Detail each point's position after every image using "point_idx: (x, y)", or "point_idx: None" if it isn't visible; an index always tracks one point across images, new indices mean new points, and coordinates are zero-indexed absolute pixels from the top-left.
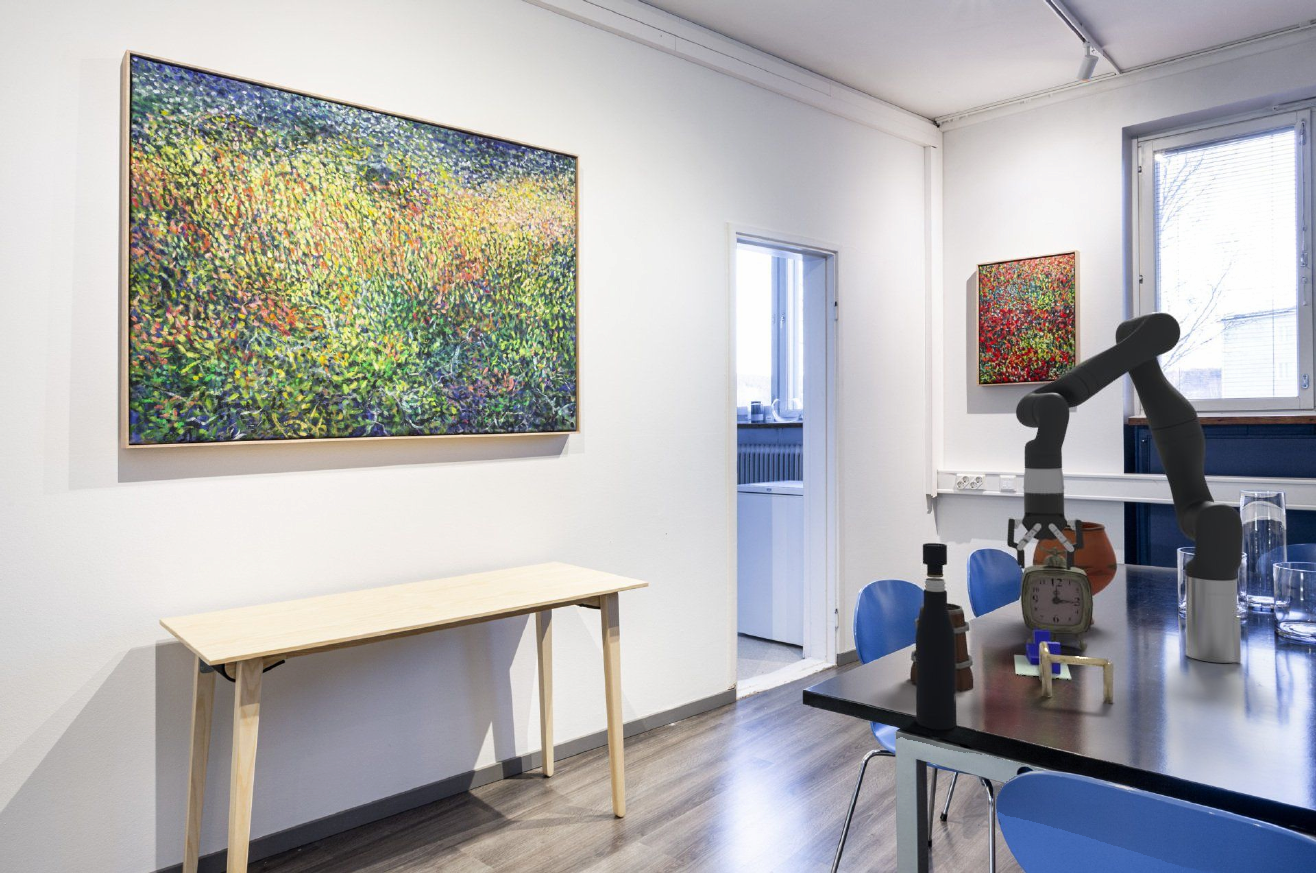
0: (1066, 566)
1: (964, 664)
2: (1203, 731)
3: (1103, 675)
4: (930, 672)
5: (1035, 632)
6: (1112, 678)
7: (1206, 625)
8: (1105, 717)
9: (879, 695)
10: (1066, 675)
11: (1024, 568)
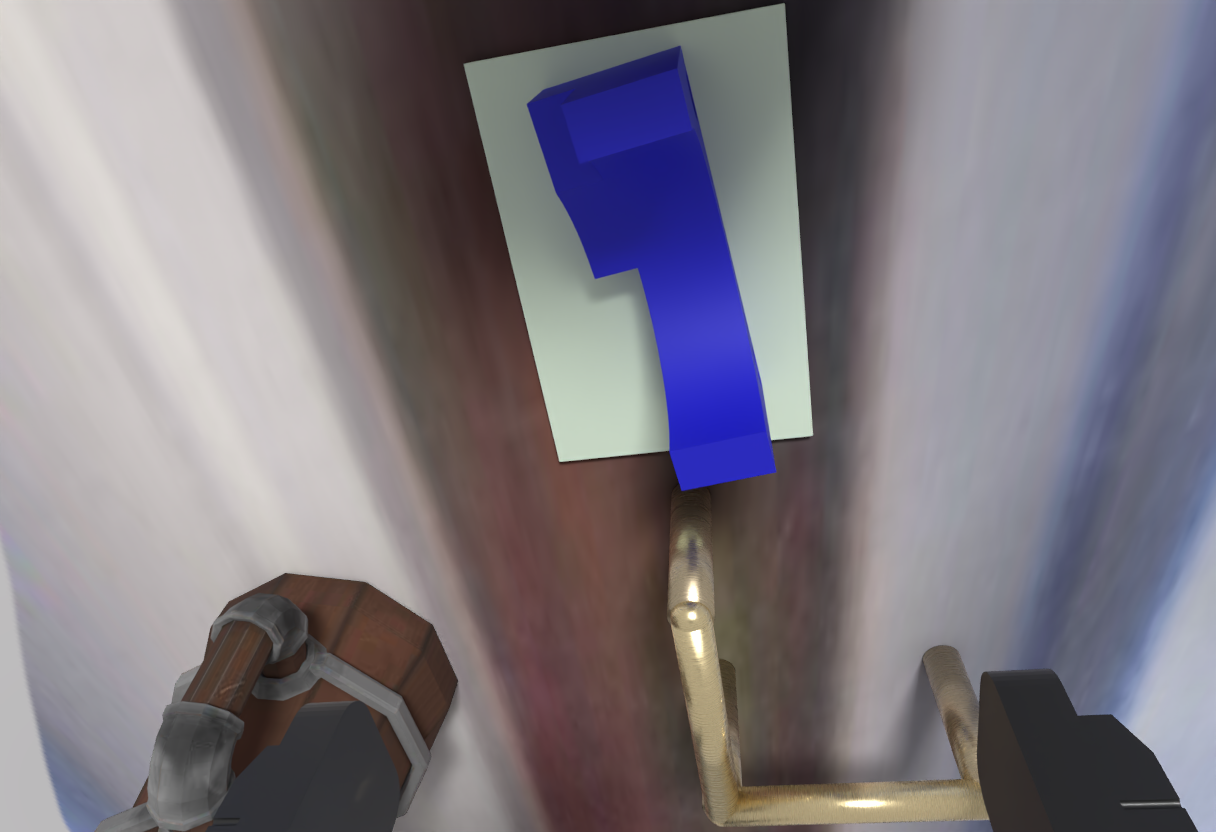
0: (994, 775)
1: (412, 798)
2: (1203, 805)
3: (953, 753)
4: None
5: (586, 161)
6: None
7: None
8: None
9: None
10: (790, 395)
11: (395, 785)
